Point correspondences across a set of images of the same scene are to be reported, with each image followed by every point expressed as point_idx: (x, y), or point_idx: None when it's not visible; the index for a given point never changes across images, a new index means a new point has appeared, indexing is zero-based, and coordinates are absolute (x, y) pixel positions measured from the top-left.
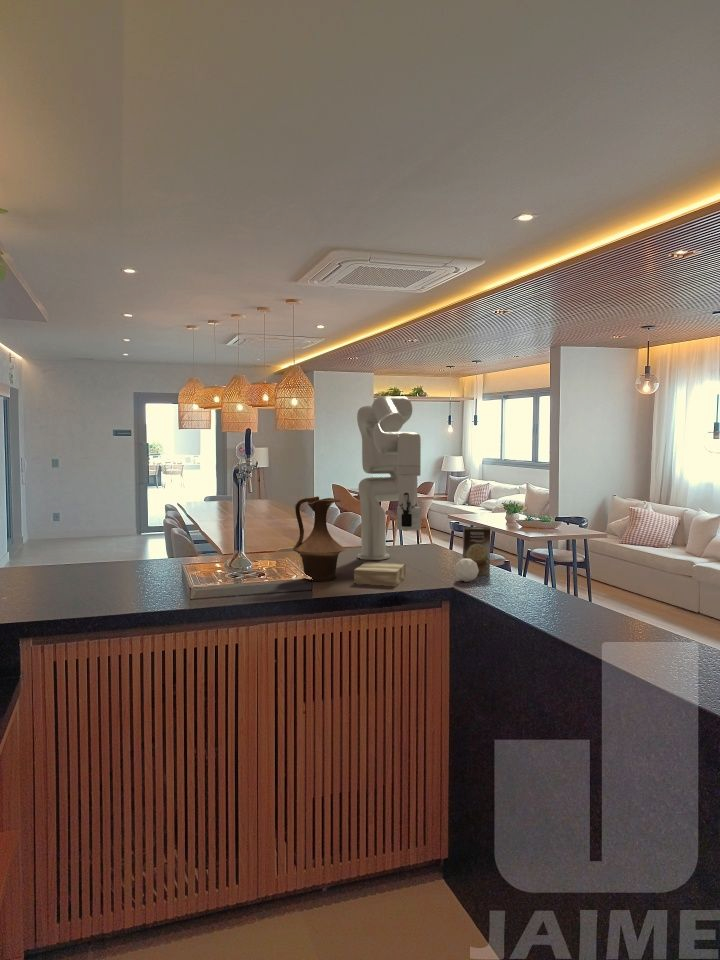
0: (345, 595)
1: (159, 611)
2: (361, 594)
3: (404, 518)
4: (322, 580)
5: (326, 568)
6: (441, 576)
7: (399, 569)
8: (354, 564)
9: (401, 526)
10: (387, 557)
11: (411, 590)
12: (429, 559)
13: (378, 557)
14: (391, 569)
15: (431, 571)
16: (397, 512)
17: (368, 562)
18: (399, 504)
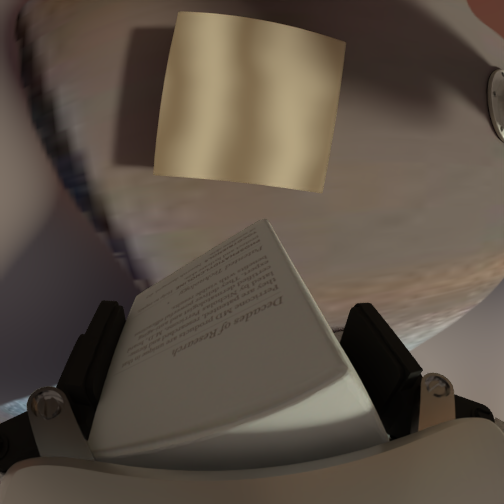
0: (39, 58)
1: None
2: (49, 94)
3: (66, 372)
4: None
5: None
6: (319, 286)
7: (216, 179)
8: (450, 44)
9: (176, 281)
10: (500, 137)
11: (117, 225)
12: (486, 235)
13: (493, 113)
14: (204, 148)
15: (382, 253)
16: (284, 314)
17: (339, 50)
18: (6, 475)
